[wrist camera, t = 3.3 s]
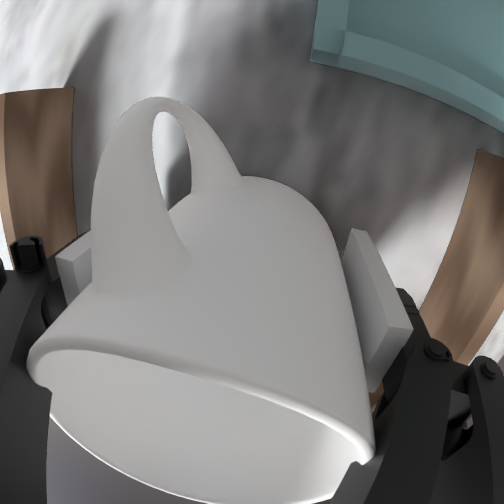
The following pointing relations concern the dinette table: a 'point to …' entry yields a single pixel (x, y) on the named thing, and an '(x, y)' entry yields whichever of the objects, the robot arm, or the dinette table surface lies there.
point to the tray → (421, 48)
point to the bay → (64, 228)
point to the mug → (208, 331)
